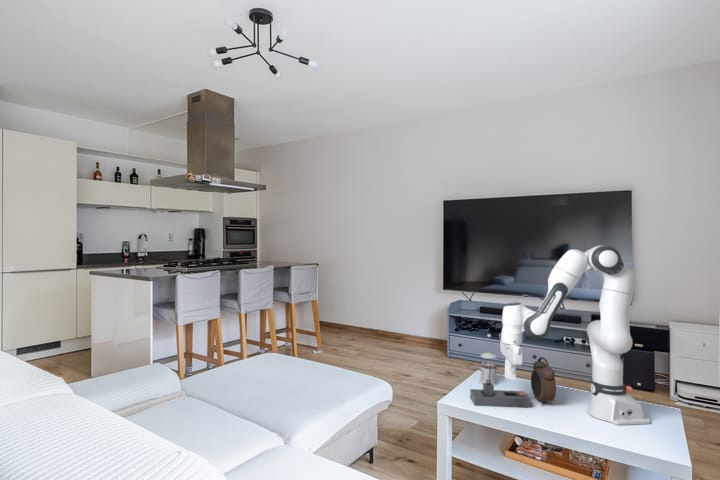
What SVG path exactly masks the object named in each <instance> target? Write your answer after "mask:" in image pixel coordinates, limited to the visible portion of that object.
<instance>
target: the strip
mask: <svg viewBox="0 0 720 480" xmlns="http://www.w3.org/2000/svg"><path fill="white" fill-rule="evenodd" d="M469 392H470V393H469V396H470V397H469V398H470V400H471V402H472V404H473V405H474V407H475V406H476V407H496V408H499V407H500V408H520V409H521V408H525V409H531V398H530V396H528V395H527V394H526V393H525V391H524V390H522V391H521V390H501V389H500V390H499V389H498V390H497V389H496V390H495V389H494V395H483V389H476V388H475V389H474V388H471V389H470V391H469Z"/></svg>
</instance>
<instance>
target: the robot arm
mask: <svg viewBox="0 0 720 480" xmlns="http://www.w3.org/2000/svg"><path fill="white" fill-rule="evenodd" d="M589 270H591V271H596V272H600V273H602V275H603V284H602V288H601V294H600V298H599V302H598V308H599V313H600V319H595V320H592V321H591V322H590V323H589V324H588V325H587V326H586V334H587V337H588V340H589V341H588V342H589V347H590V355H591V361H592V366H591V367H592V369H591V372H592V373H591V375H592V376H591V379H590V393H591V394H590V400H589V404H588V408H587V410H586V412H587V413H588V415H590V416H592V417H593V418H596V419H598V420H600V421H605V422H609V423H612V424H614V425H616V426H617V425H618V426H623V425H624V426H627V425H629V426H630V425H649V424H651V420H650V418H649V417H648V416H647V415H645V414H644V409H643V406H642V404H640V402H639V401H637V400H636V399H635V397H633V396H632V395H630V394H629V393H632V392H633V390H634V389H633V387H632V386H630V385H626V384H625V383H623V382H624V381H623V378H624V365H623V362H622V360H621V359H622V358H621V356H620V354H621V355H622V354H625V353H628V352H629V351H630V350H631V348H632V347H633V337H632V336H631V332H630V331H631V327H630V310H631V305H632V300H633V294H634V289H635V273H634V270H633V269H632V268H631V267H629V266H626V265H625V264H624V261H623V259H622V256H621V254H620V252H619V251H618V249H616V248H615V247H612V246H610V245H596V246H593V247H590V248H588V249H586V250H584V251H581V250H579V249H568V250H567V251H566V252H565V253H564V254H562V256H561V257H560V258H559V259H558V261H557V262H556V264H555V265H554V267H553V268H552V270H551V272H550V274H549V276H548V279H547V284H548V285H547V286H548V287H547V288H548V289H547V293H546V296H545V298H544V299H543V301H542V303H541V304H540V306H539V308H538V309H537V310H536V311H535V310H533V309H530V308H528V307H526V305H524V304H523V303H521V302H509V303H506V304H505V305H504V307H503V309H502V315H501V323H502V328H501V332H500V333H499V335H498V337H499V339H500V342H499V345H500V346H499V347H500V348H499V349H500V353H501V355H502V356H504V357H505V359H508V360H509V361H510V363H511V366H510V371H511V372H514V371H515V366H516V367H517V366H518V367H519V366H523V363H524V362H523V349H522V347H521V345H523V335H524V334H523V332H525V334H526V335H527V337H529V338H531V339H533V340H543V339H545V338H546V337H547V336H548V335H549V333H550V331H551V325H552V320H553V318H554V316H555V315H556V314H557V311H558V310H559V308H560V307H561V305H562V303H563V302H564V300H565V299H566V297H567V296H568V295H569V293H570V292H571V291H572V290H573V289H574V287H575V286H576V285H577V283H578V282H579V281H580V279H581V277H582V276H583V274H584V273H586V271H589ZM628 392H629V393H628Z"/></svg>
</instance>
